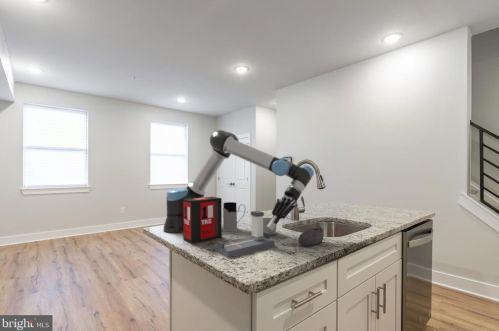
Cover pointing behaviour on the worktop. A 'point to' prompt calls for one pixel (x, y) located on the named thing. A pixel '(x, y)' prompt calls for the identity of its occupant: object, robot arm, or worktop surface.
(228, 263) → the worktop surface
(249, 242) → the fader console
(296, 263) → the worktop surface
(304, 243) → the perforated stone tool
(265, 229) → the teacup
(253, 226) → the fader knob
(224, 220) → the glass holder
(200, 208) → the cleaning product box
